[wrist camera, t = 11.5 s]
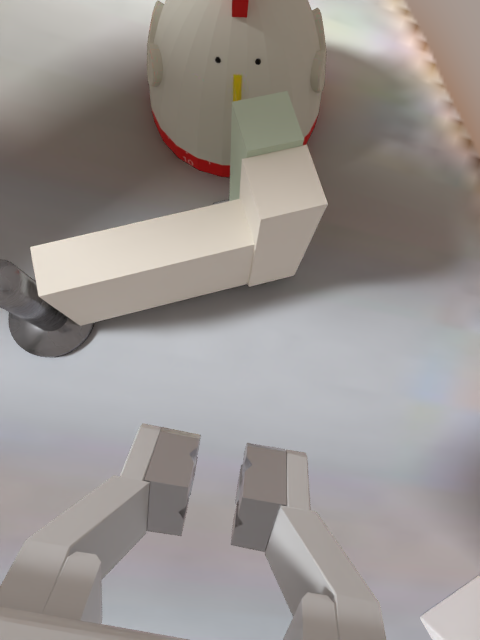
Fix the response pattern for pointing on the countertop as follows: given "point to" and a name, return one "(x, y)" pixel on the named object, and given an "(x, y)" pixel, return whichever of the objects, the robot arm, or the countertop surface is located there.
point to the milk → (456, 615)
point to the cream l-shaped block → (189, 246)
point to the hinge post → (36, 316)
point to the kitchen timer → (229, 69)
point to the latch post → (260, 131)
